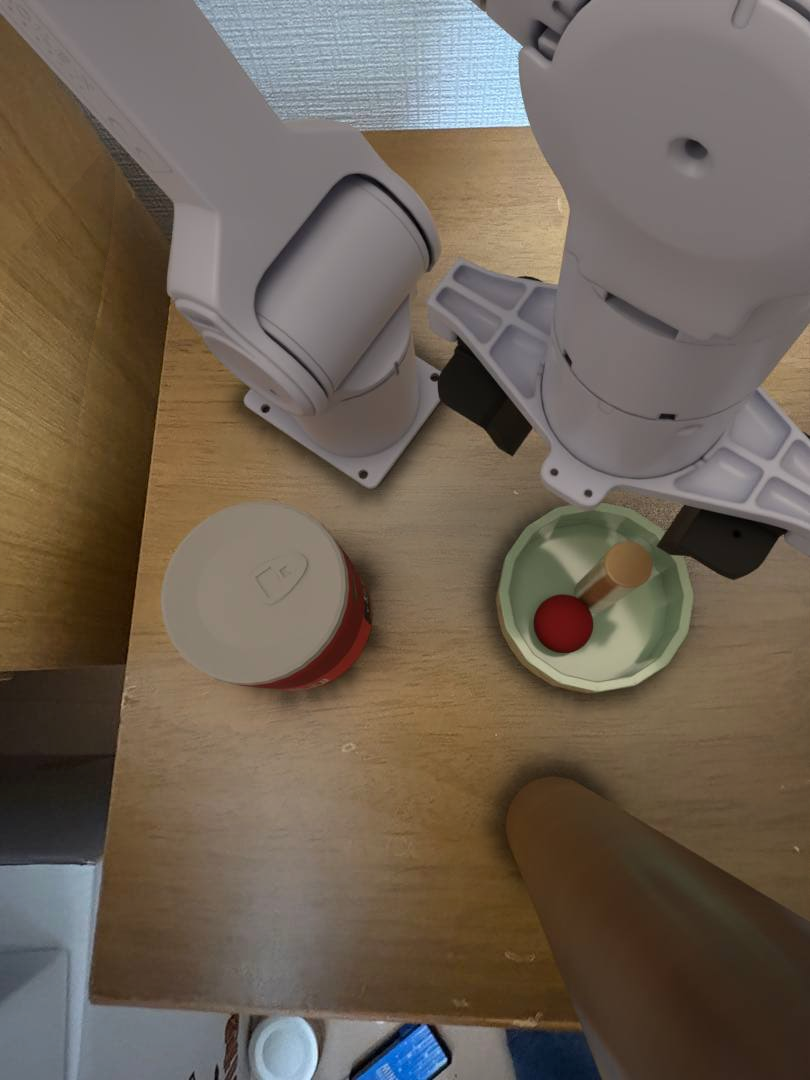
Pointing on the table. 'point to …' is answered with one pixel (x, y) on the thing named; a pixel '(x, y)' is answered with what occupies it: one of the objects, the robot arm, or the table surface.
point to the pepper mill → (661, 945)
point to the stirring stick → (614, 576)
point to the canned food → (265, 599)
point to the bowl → (618, 632)
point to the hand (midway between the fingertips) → (595, 481)
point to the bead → (563, 623)
